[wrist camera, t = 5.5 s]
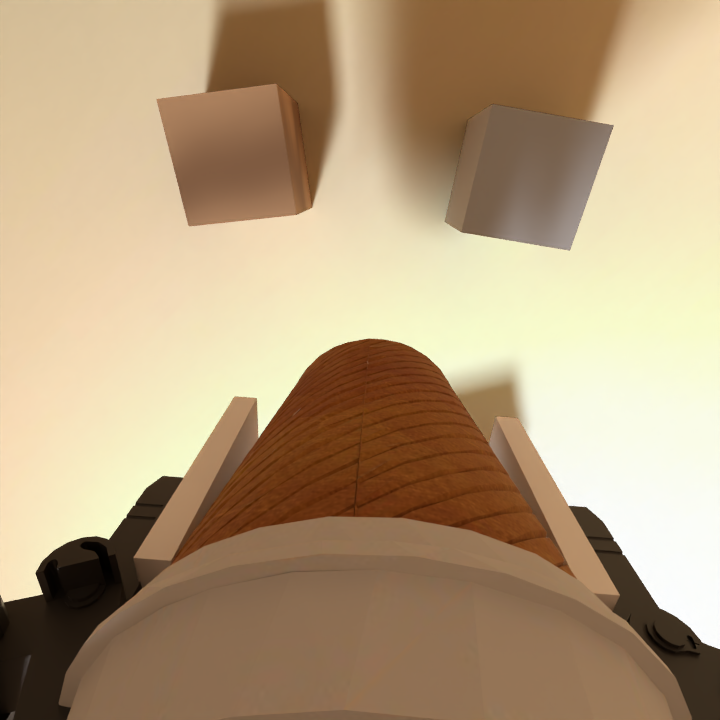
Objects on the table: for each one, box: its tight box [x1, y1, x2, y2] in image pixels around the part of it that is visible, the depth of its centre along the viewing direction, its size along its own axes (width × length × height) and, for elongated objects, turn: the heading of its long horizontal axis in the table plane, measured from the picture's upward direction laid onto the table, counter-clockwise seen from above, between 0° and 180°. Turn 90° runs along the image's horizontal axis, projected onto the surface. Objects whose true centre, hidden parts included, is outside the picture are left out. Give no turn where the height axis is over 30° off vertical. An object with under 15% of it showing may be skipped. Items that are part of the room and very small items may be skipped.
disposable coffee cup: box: [59, 339, 692, 720], centre depth 11 cm, size 10×10×12 cm
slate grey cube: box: [445, 104, 614, 250], centre depth 20 cm, size 5×5×5 cm
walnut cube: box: [157, 84, 312, 226], centre depth 20 cm, size 5×5×5 cm
